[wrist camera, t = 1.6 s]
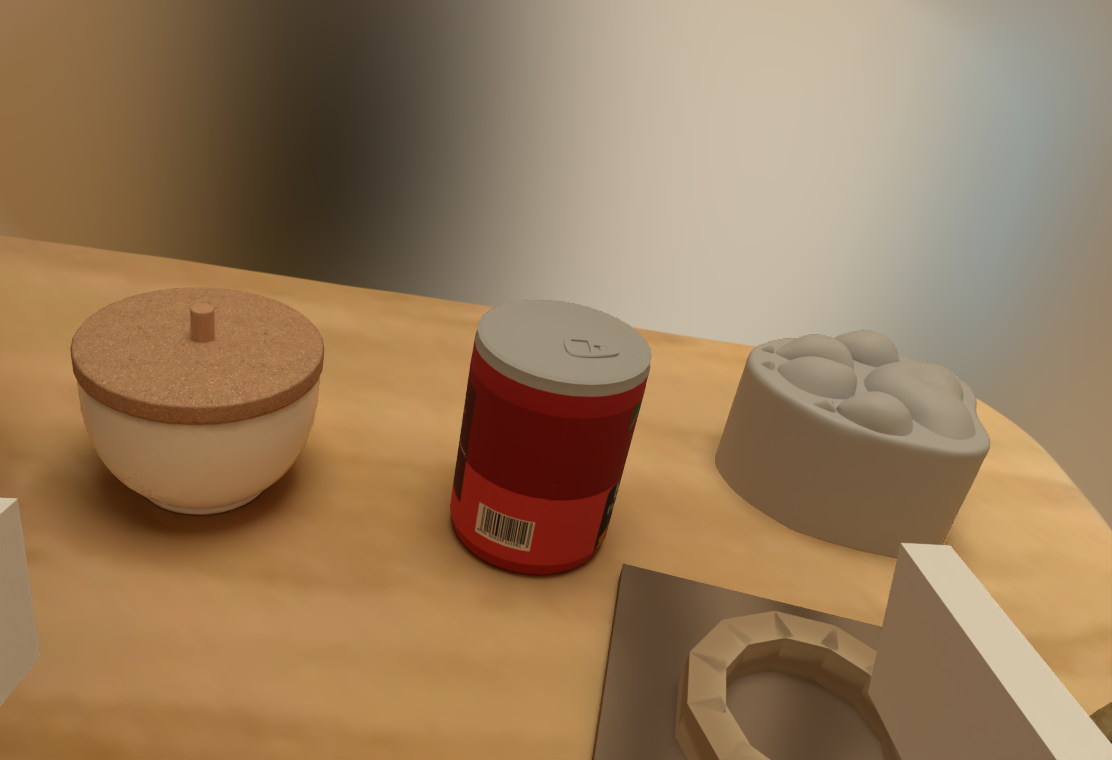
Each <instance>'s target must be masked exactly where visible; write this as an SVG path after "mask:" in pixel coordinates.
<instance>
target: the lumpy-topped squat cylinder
mask: <svg viewBox="0 0 1112 760" xmlns="http://www.w3.org/2000/svg"><path fill="white" fill-rule="evenodd" d="M989 448H990V439H989V436H988V434H987V432H986V430H985V428H984V427H983V425H982V424H981V422H980V420H979V419H978V416H977V413H976V398H975V395H974V393H973V391H972V390H971V388H970V387H969V386H968V385H967V384H965V383H964V382H963V381H961V380H960V379H958V378H957V377H956V376H955V375H954V374H953V373H952V372H951V371H950V370H948V369H947V368H945V367H942V366H940V365H937V364H933V363H928V362H922V361H919V360H916V359H913V358H908V357H905V356H902V355H898V352H897V349H896V348H895V345H894V344H893V342H892V341H891V340H890V339H889V338H887V337H885V336H884V335H882V334H880V333H876V332H873V331H868V330H860V331H853V332H849V333H846V334H842V335H839V336H838V337H836V338H832V337H828V336H825V335H819V334H811V335H805V336H802V337H799V338H785V339H779V340H774V341H770V342H767V343H764V344H762V345H759V346H757V347H756V348H754V349H753V350H752V351H751V352H750V354H749V356H748V358H747V361H746V365H745V368H744V371H743V374H742V377H741V380H740V383H739V386H738V389H737V392H736V395H735V398H734V401H733V404H732V407H731V410H730V413H729V416H728V419H727V422H726V425H725V428H724V431H723V434H722V438H721V441H720V444H719V447H718V450H717V453H716V457H715V463H716V467H717V469H718V471H719V473H720V474H721V476H722V477H723V478H724V480H725V481H726V482H727V483H728V484H729V486H730V487H731V488H732V489H733V490H734V491H735V492H736V493H737V494H738V495H739V496H741V497H742V498H743V499H744V500H746V501H747V502H748V503H750V504H751V505H753V506H754V507H756V508H757V509H759V510H760V511H762V512H763V513H765V514H766V515H768V516H770V517H771V518H773V519H774V520H776V521H778V522H779V523H781V524H783V525H785V526H786V527H788V528H790V529H792V530H795V531H797V532H800V533H803V534H805V535H808V536H811V537H814V538H817V539H821V540H824V541H827V542H830V543H834V544H837V545H841V546H844V547H848V548H852V549H856V550H860V551H864V552H869V553H874V554H879V555H883V556H888V557H893V558H898V553H899V549H900V544H901V543H912V544H932V545H942V543H943V541H944V539H945V537H946V535H947V533H948V531H949V529H950V527H951V525H952V523H953V521H954V519H955V517H956V515H957V513H958V511H959V509H960V507H961V505H962V503H963V501H964V499H965V498H966V496H967V494H968V492H969V490H970V488H971V486H972V484H973V482H974V480H975V478H976V475H977V473H978V471H979V469H980V467H981V464H982V462H983V460H984V459H985V457H986V455H987V453H988V451H989Z"/></svg>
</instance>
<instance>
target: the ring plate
mask: <svg viewBox="0 0 1112 760" xmlns="http://www.w3.org/2000/svg"><path fill="white" fill-rule="evenodd" d="M881 631H882V627H880V626H876V625H872V624H868V623H864V622H860V621H855V620H851V619H847V618H843V617H839V616H835V615H831V614H827V613H823V612H819V611H815V610H810V609H806V608H802V607H798V606H794V605H790V604H786V603H782V602H778V601H774V600H770V599H765V598H761V597H757V596H753V595H749V594H745V593H741V592H737V591H733V590H729V589H724V588H720V587H716V586H712V585H708V584H704V583H700V582H696V581H692V580H688V579H684V578H679V577H675V576H671V575H667V574H663V573H659V572H655V571H651V570H647V569H643V568H639V567H634V566H630V565H626V564H623V566H622V570H621V574H620V578H619V585H618V591H617V598H616V605H615V611H614V618H613V625H612V631H611V638H610V645H609V651H608V658H607V665H606V671H605V678H604V685H603V691H602V698H601V705H600V711H599V718H598V725H597V731H596V738H595V745H594V751H593V758H592V760H902V759H901V757H900V755H899V753H898V751H897V749H896V747H895V745H894V743H893V741H892V739H891V737H890V735H889V733H888V731H887V729H886V727H885V725H884V723H883V721H882V719H881V717H880V715H879V713H878V711H877V709H876V707H875V705H874V704H873V702H872V700H871V698H870V696H869V694H868V690H869V685H870V680H871V676H872V671H873V667H874V662H875V658H876V653H877V649H878V644H879V640H880V635H881Z"/></svg>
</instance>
